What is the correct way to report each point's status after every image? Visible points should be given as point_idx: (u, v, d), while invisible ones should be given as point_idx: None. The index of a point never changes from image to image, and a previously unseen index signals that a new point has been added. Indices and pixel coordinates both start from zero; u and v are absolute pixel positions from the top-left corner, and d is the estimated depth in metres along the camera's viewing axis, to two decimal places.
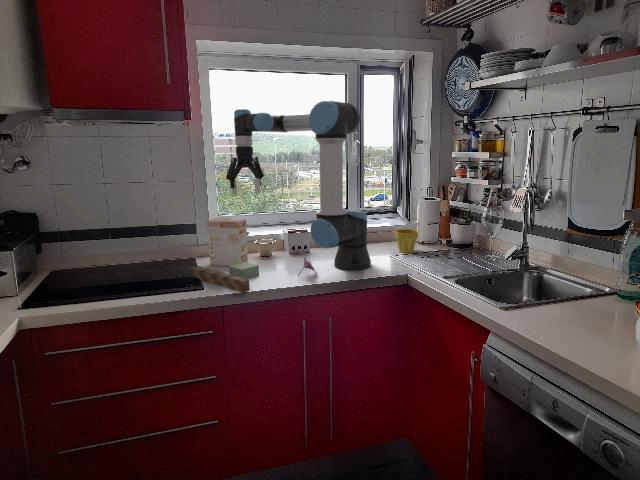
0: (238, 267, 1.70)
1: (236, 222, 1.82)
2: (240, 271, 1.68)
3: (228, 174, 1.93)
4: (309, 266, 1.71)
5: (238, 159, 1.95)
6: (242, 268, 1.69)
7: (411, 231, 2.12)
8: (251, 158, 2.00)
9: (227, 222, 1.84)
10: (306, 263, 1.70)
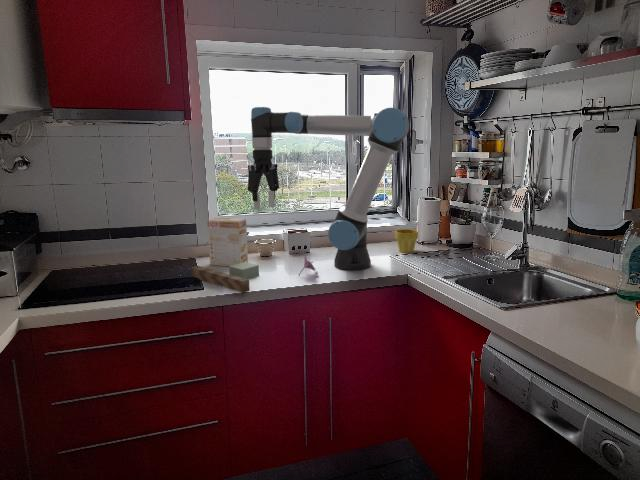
0: (238, 267, 1.70)
1: (236, 222, 1.82)
2: (240, 271, 1.68)
3: (249, 186, 1.70)
4: (310, 266, 1.71)
5: (256, 165, 1.70)
6: (242, 268, 1.69)
7: (411, 231, 2.12)
8: (270, 163, 1.75)
9: (227, 222, 1.84)
10: (307, 263, 1.71)
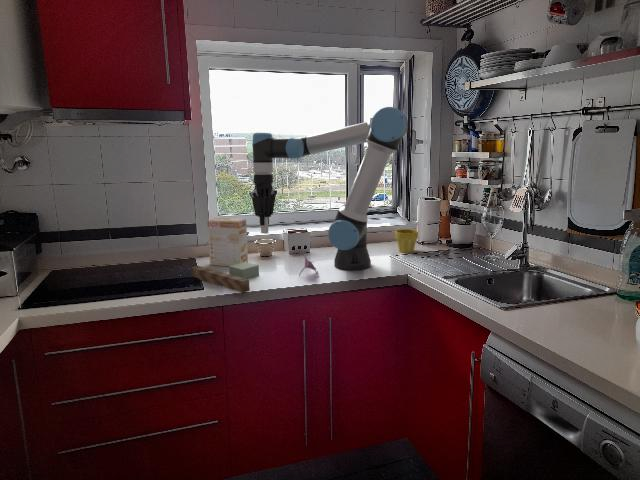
0: (238, 267, 1.70)
1: (236, 222, 1.82)
2: (240, 271, 1.68)
3: (256, 211, 1.75)
4: (310, 266, 1.71)
5: (257, 191, 1.72)
6: (242, 268, 1.69)
7: (411, 231, 2.12)
8: (271, 187, 1.77)
9: (227, 222, 1.84)
10: (307, 263, 1.71)
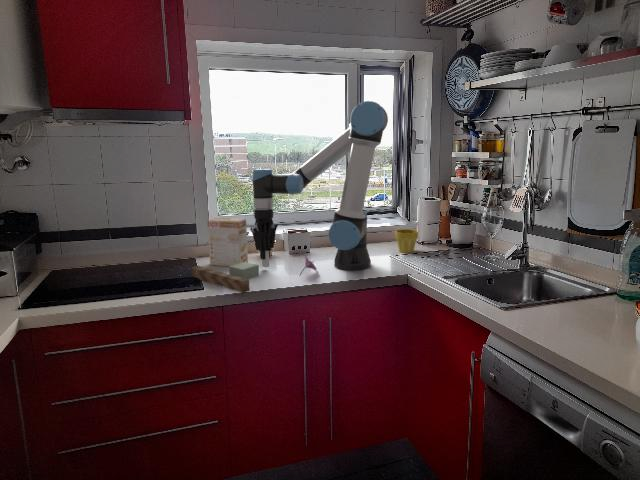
0: (238, 267, 1.70)
1: (236, 222, 1.82)
2: (240, 271, 1.68)
3: (257, 246, 1.77)
4: (311, 266, 1.72)
5: (257, 226, 1.75)
6: (242, 268, 1.69)
7: (411, 231, 2.12)
8: (271, 221, 1.80)
9: (227, 222, 1.84)
10: (308, 263, 1.71)
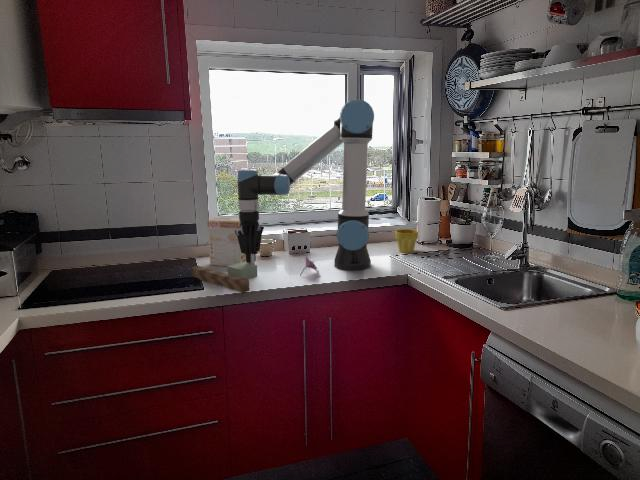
0: (236, 267, 1.69)
1: (236, 222, 1.82)
2: (238, 271, 1.67)
3: (242, 249, 1.71)
4: (311, 265, 1.72)
5: (242, 228, 1.69)
6: (240, 268, 1.68)
7: (411, 231, 2.12)
8: (257, 223, 1.74)
9: (227, 222, 1.84)
10: (308, 262, 1.71)
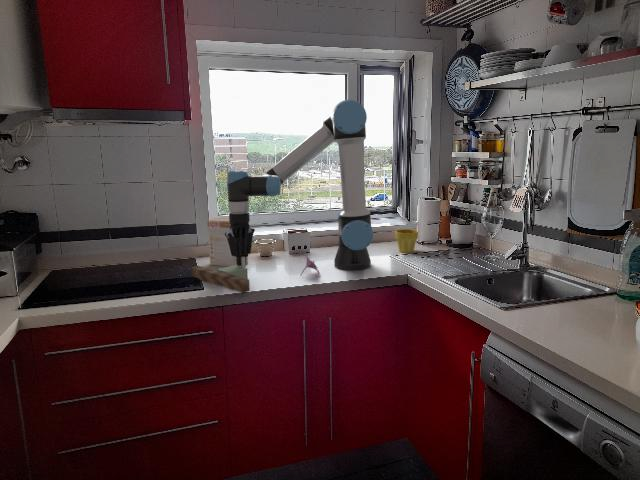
0: (226, 270, 1.66)
1: None
2: None
3: (232, 252, 1.68)
4: (312, 265, 1.72)
5: (232, 231, 1.65)
6: (230, 271, 1.64)
7: (411, 231, 2.12)
8: (248, 225, 1.70)
9: (227, 222, 1.84)
10: (309, 262, 1.71)
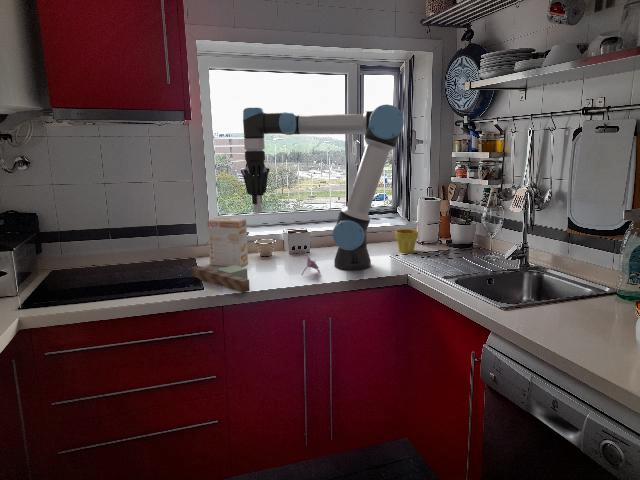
0: (226, 270, 1.66)
1: (236, 222, 1.82)
2: None
3: (248, 189, 1.70)
4: (313, 265, 1.72)
5: (248, 168, 1.67)
6: (229, 271, 1.64)
7: (411, 231, 2.12)
8: (263, 164, 1.72)
9: (227, 222, 1.84)
10: (310, 262, 1.72)
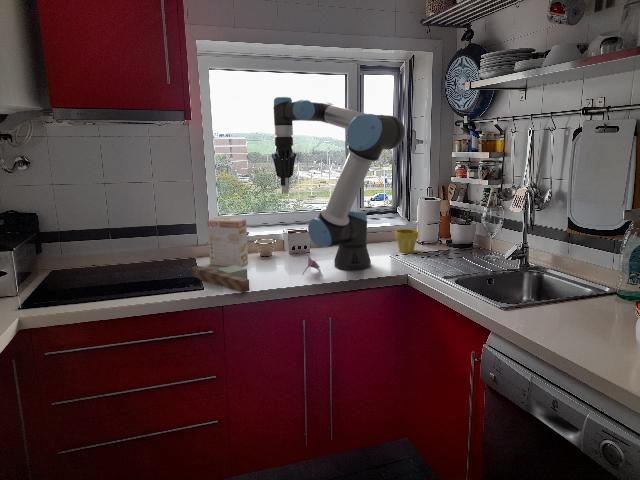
0: (225, 270, 1.66)
1: (236, 222, 1.82)
2: None
3: (277, 172, 1.86)
4: (314, 265, 1.73)
5: (278, 152, 1.84)
6: (229, 271, 1.64)
7: (411, 231, 2.12)
8: (291, 149, 1.89)
9: (227, 222, 1.84)
10: (311, 262, 1.72)
